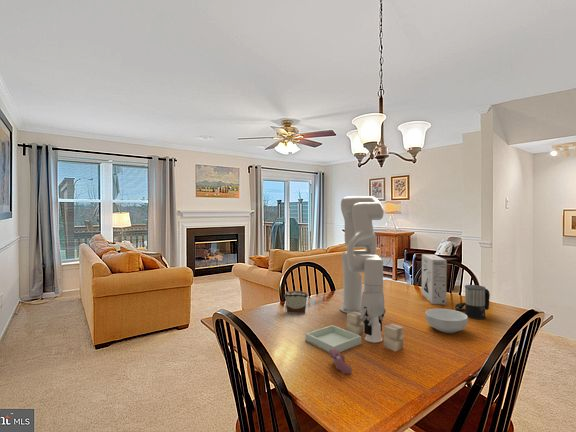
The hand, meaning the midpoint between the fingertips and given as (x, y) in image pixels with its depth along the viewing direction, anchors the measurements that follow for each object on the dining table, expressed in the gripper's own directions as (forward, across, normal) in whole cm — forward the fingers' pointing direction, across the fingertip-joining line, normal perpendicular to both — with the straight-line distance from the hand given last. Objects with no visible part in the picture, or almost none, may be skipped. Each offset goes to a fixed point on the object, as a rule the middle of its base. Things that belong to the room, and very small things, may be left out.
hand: (373, 331), depth 130 cm
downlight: (+3, 0, 0) cm, 3 cm away
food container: (+3, +2, -47) cm, 47 cm away
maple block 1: (+3, 0, -10) cm, 10 cm away
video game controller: (+3, +28, +8) cm, 29 cm away
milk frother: (+3, -65, +10) cm, 66 cm away
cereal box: (+3, -76, -15) cm, 78 cm away
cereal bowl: (+3, -34, +13) cm, 37 cm away
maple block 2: (+3, 0, +10) cm, 10 cm away
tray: (+3, +15, -8) cm, 17 cm away
